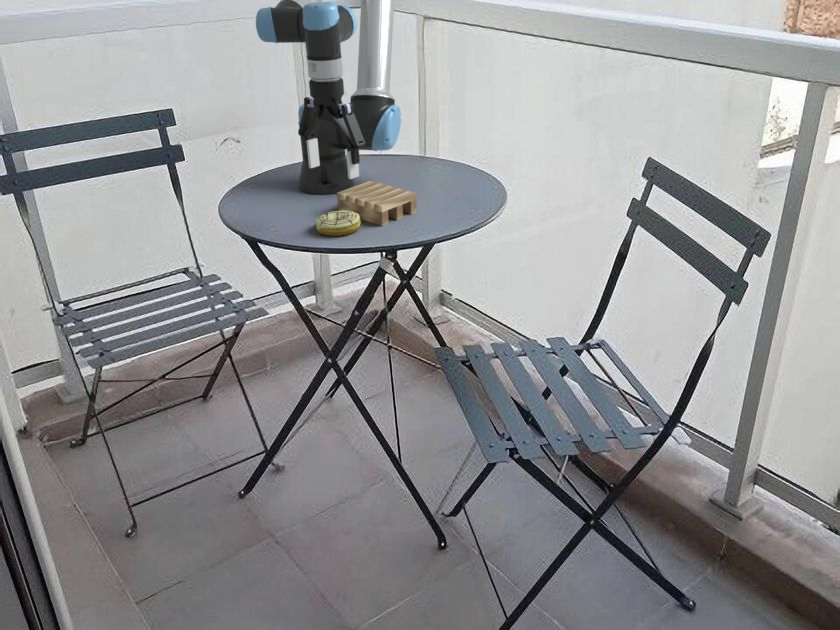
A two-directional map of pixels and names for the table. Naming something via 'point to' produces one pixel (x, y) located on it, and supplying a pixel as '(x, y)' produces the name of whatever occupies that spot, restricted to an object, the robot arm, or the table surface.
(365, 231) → the table surface
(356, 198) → the pallet
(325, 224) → the decorated donut
